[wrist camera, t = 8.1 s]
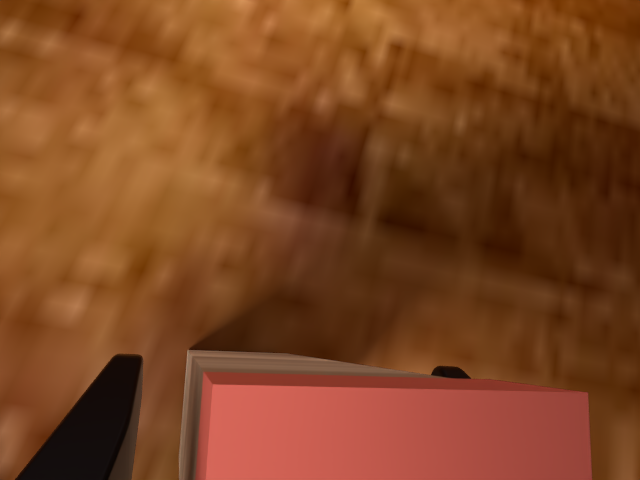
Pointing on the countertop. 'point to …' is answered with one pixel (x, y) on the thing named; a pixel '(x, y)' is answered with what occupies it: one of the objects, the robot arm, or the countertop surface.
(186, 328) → the countertop surface
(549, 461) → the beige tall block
